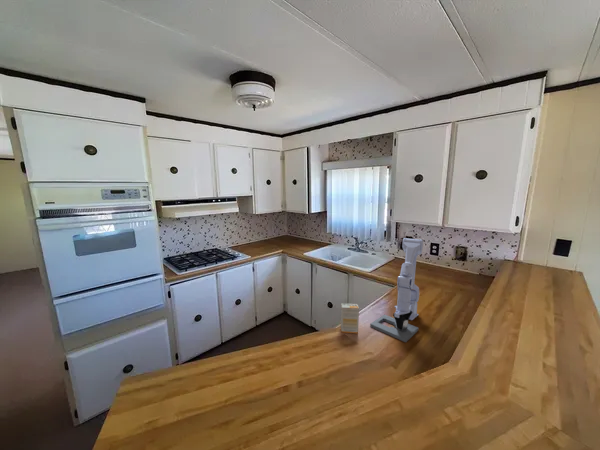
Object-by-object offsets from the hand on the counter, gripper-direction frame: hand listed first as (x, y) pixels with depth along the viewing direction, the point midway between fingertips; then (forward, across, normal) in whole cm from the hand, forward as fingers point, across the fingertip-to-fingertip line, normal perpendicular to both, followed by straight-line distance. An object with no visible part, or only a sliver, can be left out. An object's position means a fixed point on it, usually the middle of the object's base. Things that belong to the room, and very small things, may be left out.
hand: (402, 326), depth 115 cm
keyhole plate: (+3, 0, -4) cm, 5 cm away
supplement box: (+3, +19, -18) cm, 26 cm away
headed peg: (+2, 0, 0) cm, 2 cm away
